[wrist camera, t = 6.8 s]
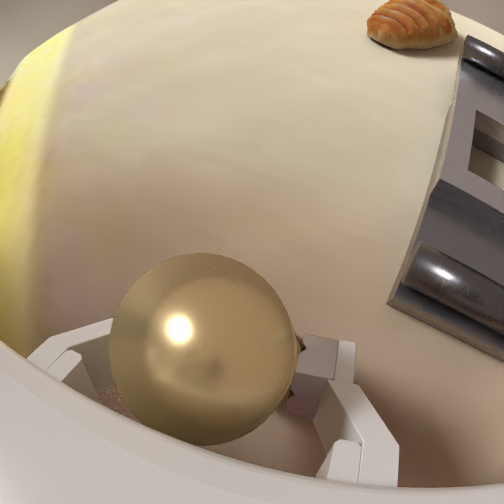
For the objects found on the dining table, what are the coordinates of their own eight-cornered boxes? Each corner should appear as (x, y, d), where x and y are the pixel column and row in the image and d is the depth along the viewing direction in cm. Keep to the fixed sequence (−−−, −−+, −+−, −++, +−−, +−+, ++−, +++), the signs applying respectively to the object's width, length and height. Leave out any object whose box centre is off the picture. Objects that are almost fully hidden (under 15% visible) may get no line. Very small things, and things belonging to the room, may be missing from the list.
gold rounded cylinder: (213, 371, 15) (83, 372, 6) (249, 308, 16) (166, 224, 6) (277, 408, 14) (229, 480, 5) (315, 342, 15) (331, 307, 5)
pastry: (405, 67, 20) (412, 30, 17) (346, 31, 23) (346, -4, 19) (458, 43, 21) (466, 13, 17) (406, 11, 23) (410, -17, 20)
